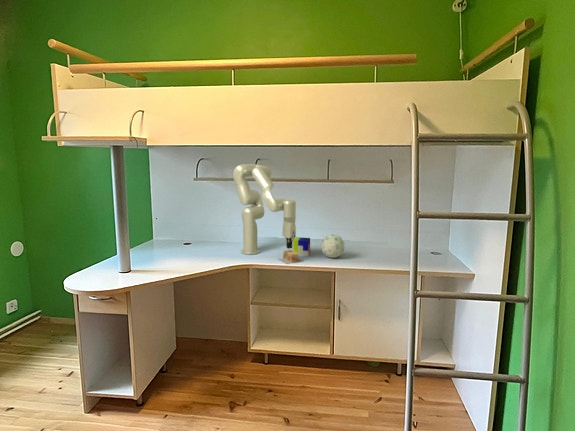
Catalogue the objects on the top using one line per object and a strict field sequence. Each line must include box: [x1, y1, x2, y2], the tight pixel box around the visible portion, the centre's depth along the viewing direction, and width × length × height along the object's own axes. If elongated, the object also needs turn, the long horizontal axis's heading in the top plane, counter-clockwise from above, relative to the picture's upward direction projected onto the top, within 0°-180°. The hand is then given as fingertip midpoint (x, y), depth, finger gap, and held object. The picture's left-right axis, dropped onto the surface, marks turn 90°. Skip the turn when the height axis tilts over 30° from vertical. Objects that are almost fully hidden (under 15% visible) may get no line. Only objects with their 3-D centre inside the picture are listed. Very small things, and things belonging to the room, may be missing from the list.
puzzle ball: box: [320, 234, 345, 259], centre depth 257 cm, size 15×15×15 cm
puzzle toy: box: [292, 236, 311, 257], centre depth 267 cm, size 10×10×10 cm
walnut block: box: [282, 249, 299, 264], centre depth 250 cm, size 5×5×11 cm
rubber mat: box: [278, 258, 305, 265], centre depth 250 cm, size 11×12×1 cm
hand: (289, 248), depth 251 cm, fingers closed
